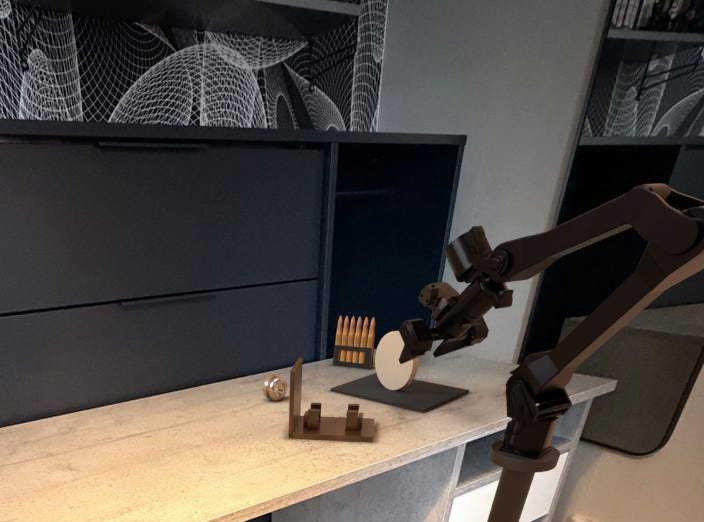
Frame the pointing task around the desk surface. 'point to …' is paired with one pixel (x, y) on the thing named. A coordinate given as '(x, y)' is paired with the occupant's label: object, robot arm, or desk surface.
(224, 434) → the desk surface
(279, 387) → the metal grooved wheel
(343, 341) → the ammunition clip
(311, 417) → the stand
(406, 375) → the plate
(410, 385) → the mat
